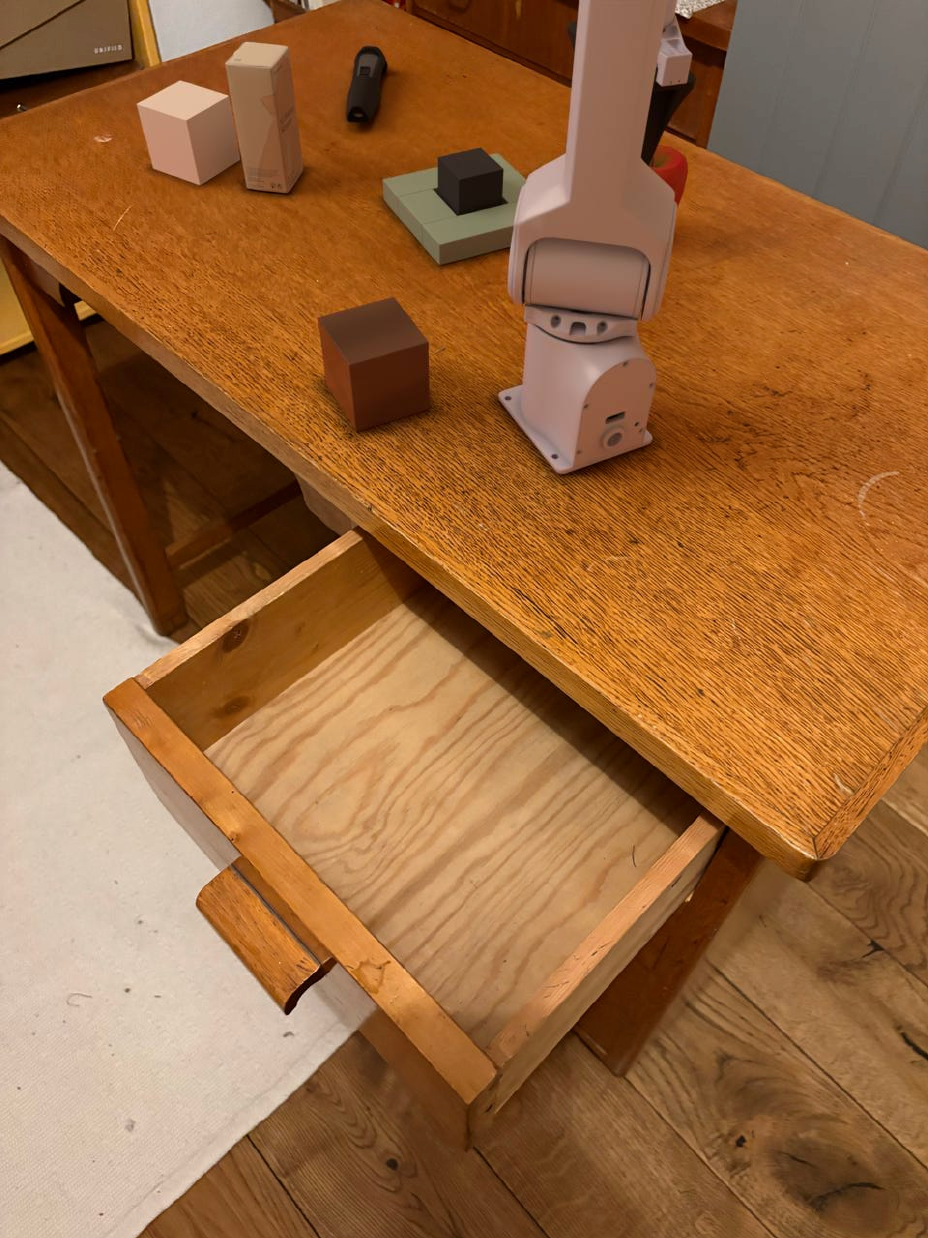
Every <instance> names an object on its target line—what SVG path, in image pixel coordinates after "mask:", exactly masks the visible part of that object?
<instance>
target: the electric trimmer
mask: <svg viewBox="0 0 928 1238" xmlns="http://www.w3.org/2000/svg"><path fill="white" fill-rule="evenodd" d="M388 69H389V64H388V61H387V59H386V56H385V55H384V53H383V51H382V50H381V48H379V47H378V46H373V45H365V46H362V47H361V48H360V49H359V51H358V52H357V53H356V55H355V57H354V61H353V70H352V76H351V81H350V85H349V88H348V92H347V97H346V106H345V107H346V109H345V114H346V115H345V117H346V121H347V122H349V123H361V124H363V123H365V124H366V123H369V122H371V120H372V118H373V116H374V114H375V112H376V110H377V109H378V107H379V104H380V102H381V100H382V93H381V89H380V82H381V78H382V74H385V73H387V71H388Z"/></svg>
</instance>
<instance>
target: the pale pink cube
mask: <svg viewBox="0 0 928 1238" xmlns="http://www.w3.org/2000/svg"><path fill="white" fill-rule="evenodd" d="M136 107H137V111H138V115H139V120H140V123H141V127H142V131H143V135H144V139H145V143H146V146H147V151H148V155H149V158H150V162H151V166H152V169H153V170H156V171H158V172H161V173H164V174H168V175H170V176H173V177H175V178H178V179H181V180H183V181H186V182H189V183H191V184H194V185H197V186H202V185H203V184H205V183H207V182H208V181H209V180H211V179H213V178H214V177H216V176H217V175H219V174H221V173H223V172H224V171H225V170H226V169H229V167H232V166H233V165H235V163H238V162H239V161H241V155H240V149H239V143H238V138H237V132H236V126H235V121H234V115H233V109H232V105H231V98H230V95H228V94H225V93H221V92H218V91H216V90H213V89H209V88H206V87H202V86H200V85H196V84H195V83H190V82H187V81H183V80H181V79H179V80H178V81H176V82H174V83H173V84H171V85H169V86H167V87H165V88H164V89H162V90H160V91H158V92H156V93H154V94H152V95H151V96H149V97H147V98H145V99H143V100H141V101H139V102H137V103H136Z"/></svg>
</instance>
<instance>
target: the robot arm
mask: <svg viewBox="0 0 928 1238" xmlns="http://www.w3.org/2000/svg"><path fill="white" fill-rule="evenodd" d="M578 1H579V2H578V12H577V21H572V22H570V23H568V25H567V29H566V30H567V31H566V32H567V36H568V38H569V40H570V43H571V46H572V49H573V52H574V59H573V68H572V69H573V70H572V81H571V90H570V93H571V94H570V102H569V115H568V125H567V137H566V149H565V153H563V154H562V155H560V156H559V157H558V156H557V158H554V159H553V160H550V161H549V162H547V163H545V164H543V165H542V166H540V167H539V168H537V169H535V170H533V171H532V172H530V173H529V174H528V176H527V178H526V180H527V181H526V184H525V185H523V186H522V189H521V192H520V196H519V199H518V204H517V208H516V213H515V219H514V229H513V235H512V242H511V247H510V249H509V250H510V251H509V257H508V258H509V259H508V268H507V269H508V270H507V294H508V295H509V296H510V298H511V300H512V301H513V304H514V305H516V306H521V307H522V306H524V311H523V322H525V323H527V325H526V337H525V347H524V348H525V349H524V361H523V370H522V371H523V372H522V373H523V374H522V384H520V385H519V384H518V385H517V386H513V387H510V388H506V389H504V390H501V391H499V392H498V393H497V394H498V395H497V398H498V401H499V402H500V403H501V405H502V406H503V407H504V409H505V410H506V411H507V412H508V413H509V415H510V416H511V417H512V418H513V420H514V421H515V422H516V424H517V425H518V426H519V427H520V429H521V430H522V431H523V432H524V434H525V435H526V436H527V437H528V439H529V440H530V441H531V442H532V444H533V445H534V446H535V448H537V450H538V451H539V453H540V454H541V455H542V456H543V457H544V458H545V460H546V461H547V462H548V464H549V465H550V467H552V469H553V470H554V471H555V472H556V473H557V474H559V475H565V474H568V473H571V472H574V471H577V470H579V469H583V468H585V467H588V466H591V465H594V464H596V463H599V462H603V461H605V460H608V459H611V458H613V457H616V456H619V455H622V454H626V453H627V452H631V451H633V450H636V449H639V448H642V447H644V446H645V447H646V446H649V445H650V444H651V443H652V442H653V435H652V433H650V431H649V430H648V429H647V426H648V421H649V418H650V412H651V407H652V404H653V399H654V395H655V391H656V388H657V387H656V386H657V380H658V373H657V372H658V371H657V369H656V367H655V364H654V363H653V361H652V359H651V358H650V357H649V355H648V354H647V353H646V350H645V349H644V347H643V345H642V343H641V340H640V335H639V332H638V323H639V318H640V322H642V323H643V322H645V323H649V322H650V321H651V320H652V318H654V317H655V316H657V315H658V314H659V312H660V310H661V305H662V301H663V298H664V293H665V288H666V284H667V279H668V273H669V268H670V263H671V256H672V251H673V246H674V245H673V244H674V235H675V228H676V222H677V213H678V207H677V203H676V202H675V201H674V198H675V192H674V191H673V189H672V188H671V187H670V186H669V185H668V184H667V183H666V182H665V181H664V180H663V179H662V178H661V177H659V176H658V175H657V174H656V173H655V172H654V171H653V170H652V169H651V168H650V167H648V166H649V164H650V162H651V160H652V158H653V156H654V153H655V151H656V149H657V146H658V145H660V143H661V140H662V137H663V135H664V133H665V131H666V129H667V127H668V125H669V123H670V121H671V120H672V118H673V116H674V114H675V113H676V112H677V110H678V109H679V107H680V105H681V104H682V103H683V102H684V100H686V98H687V97H688V96H689V95H690V93H691V92H692V91H693V90H694V89H695V86H696V80H697V77H696V75H695V74H694V73H693V72H692V71H691V70H690V69H691V65H692V64H691V63H692V59H693V53H692V52H691V51H690V50H689V49H688V48H687V46H686V44H685V41H684V38H683V35H682V31H681V29H680V25H679V22H678V19H677V18H678V17H677V16H676V8H677V3H678V0H578Z"/></svg>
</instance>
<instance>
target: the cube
mask: <svg viewBox="0 0 928 1238" xmlns="http://www.w3.org/2000/svg"><path fill="white" fill-rule="evenodd" d="M317 325H318V331H319V340H320V348H321V355H322V364H323V371H324V380H325V385H326V387H327V389H328V390H329V391H330V392H329V393H330V394H331V395H332V396H333V398H334V400H335V401H336V403H337V404H338V406H339V407H340V409H341V411H342V412H343V414H344V415H345V418H346V419H347V420H348V422H349V424H350V425H351V426H352V428H353V430H354V431H355V432H356V433H358V432H361V431H364V430H367V429H371V428H374V427H377V426H380V425H384V424H387V423H390V422H393V421H396V420H400V419H403V418H406V417H409V416H413V415H415V414H418V413H422V412H425V411H429V410H430V409H431V398H430V395H431V394H430V393H431V392H430V342H429V340H428V339H427V337H426V336H425V335H424V334H423V332H422V331H421V330H420V328H418V326H417V325H416V323H415V322H414V321H413V319H412V318H411V317H410V315H409V314H408V313H407V312H406V310H405V309H404V307H403V306H402V304H400V303H399V301H398V300H397V298H396V297H395V296H391V297H388V298H383V299H381V300H377V301H373V302H369V303H365V304H362V305H357V306H355V307H350V308H347V309H344V310H343V309H342V310H340V311H336V312H333V313H329V314H325V315H321V316H317Z"/></svg>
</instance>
